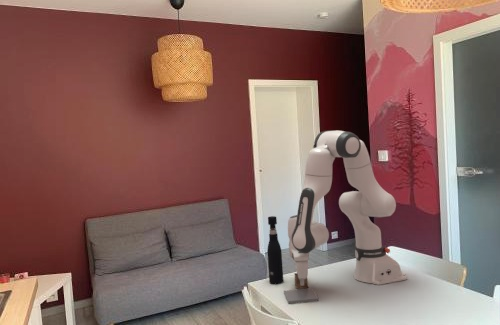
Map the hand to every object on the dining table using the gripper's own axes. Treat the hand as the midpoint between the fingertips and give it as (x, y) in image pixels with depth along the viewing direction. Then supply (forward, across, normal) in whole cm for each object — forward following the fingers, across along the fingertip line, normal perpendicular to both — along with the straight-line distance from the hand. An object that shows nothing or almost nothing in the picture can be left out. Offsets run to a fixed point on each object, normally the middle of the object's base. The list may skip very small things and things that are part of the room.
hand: (301, 282), depth 166 cm
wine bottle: (+2, -7, -11) cm, 13 cm away
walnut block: (+2, 0, 0) cm, 2 cm away
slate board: (+2, +12, -2) cm, 12 cm away
